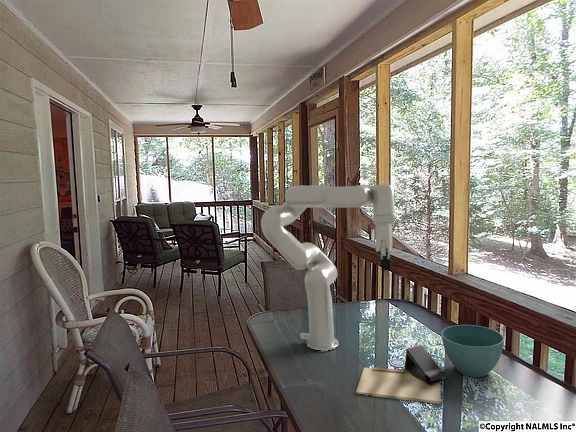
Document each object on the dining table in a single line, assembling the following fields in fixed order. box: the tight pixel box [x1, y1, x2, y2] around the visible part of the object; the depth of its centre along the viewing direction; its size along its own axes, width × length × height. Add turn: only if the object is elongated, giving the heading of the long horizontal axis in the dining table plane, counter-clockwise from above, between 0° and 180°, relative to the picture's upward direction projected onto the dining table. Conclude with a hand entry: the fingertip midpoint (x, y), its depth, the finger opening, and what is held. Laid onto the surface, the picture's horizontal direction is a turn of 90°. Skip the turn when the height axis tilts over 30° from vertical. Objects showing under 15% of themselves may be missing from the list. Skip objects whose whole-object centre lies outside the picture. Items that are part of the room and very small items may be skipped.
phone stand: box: [403, 344, 447, 385], centre depth 129 cm, size 9×6×12 cm
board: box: [355, 366, 442, 405], centre depth 126 cm, size 24×16×1 cm, turn 71°
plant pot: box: [440, 324, 505, 378], centre depth 131 cm, size 18×18×12 cm
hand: (386, 269), depth 147 cm, fingers closed
